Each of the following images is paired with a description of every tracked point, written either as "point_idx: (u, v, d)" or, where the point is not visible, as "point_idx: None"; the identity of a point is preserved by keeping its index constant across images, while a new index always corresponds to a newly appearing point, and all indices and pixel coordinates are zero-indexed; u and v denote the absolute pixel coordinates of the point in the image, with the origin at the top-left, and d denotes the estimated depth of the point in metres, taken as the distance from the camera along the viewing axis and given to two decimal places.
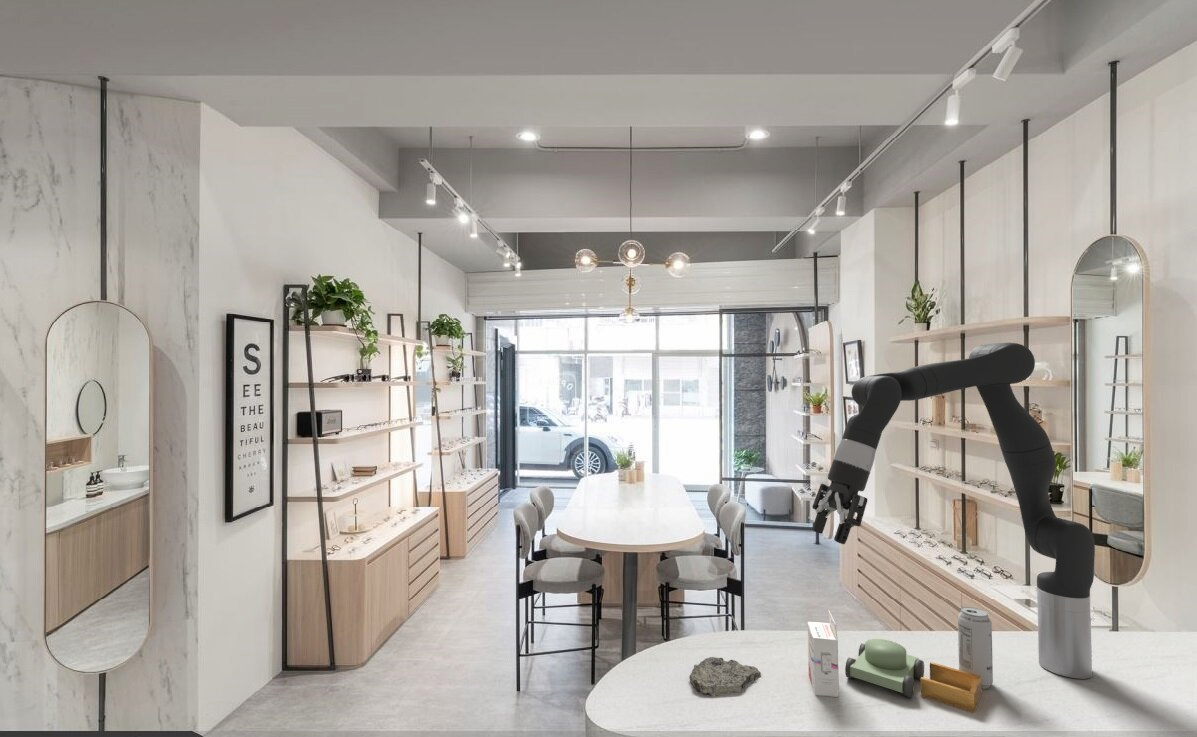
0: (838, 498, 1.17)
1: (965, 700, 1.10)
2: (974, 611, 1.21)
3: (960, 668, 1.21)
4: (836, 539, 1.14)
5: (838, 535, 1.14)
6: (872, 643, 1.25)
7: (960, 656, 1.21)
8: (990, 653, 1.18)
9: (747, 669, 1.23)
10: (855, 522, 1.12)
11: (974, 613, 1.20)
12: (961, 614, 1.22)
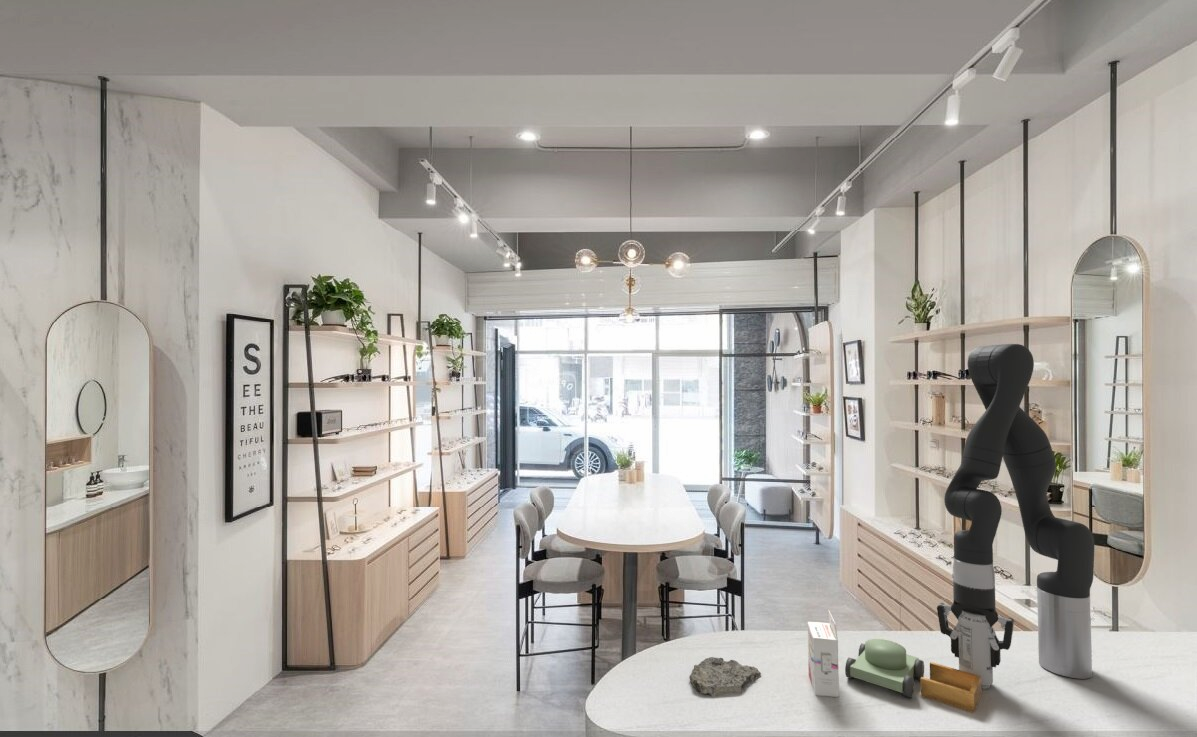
0: None
1: (965, 700, 1.10)
2: None
3: (960, 668, 1.21)
4: (995, 665, 1.18)
5: (995, 661, 1.18)
6: (872, 643, 1.25)
7: (960, 656, 1.21)
8: (990, 653, 1.18)
9: (747, 669, 1.23)
10: None
11: (974, 613, 1.20)
12: (961, 614, 1.21)
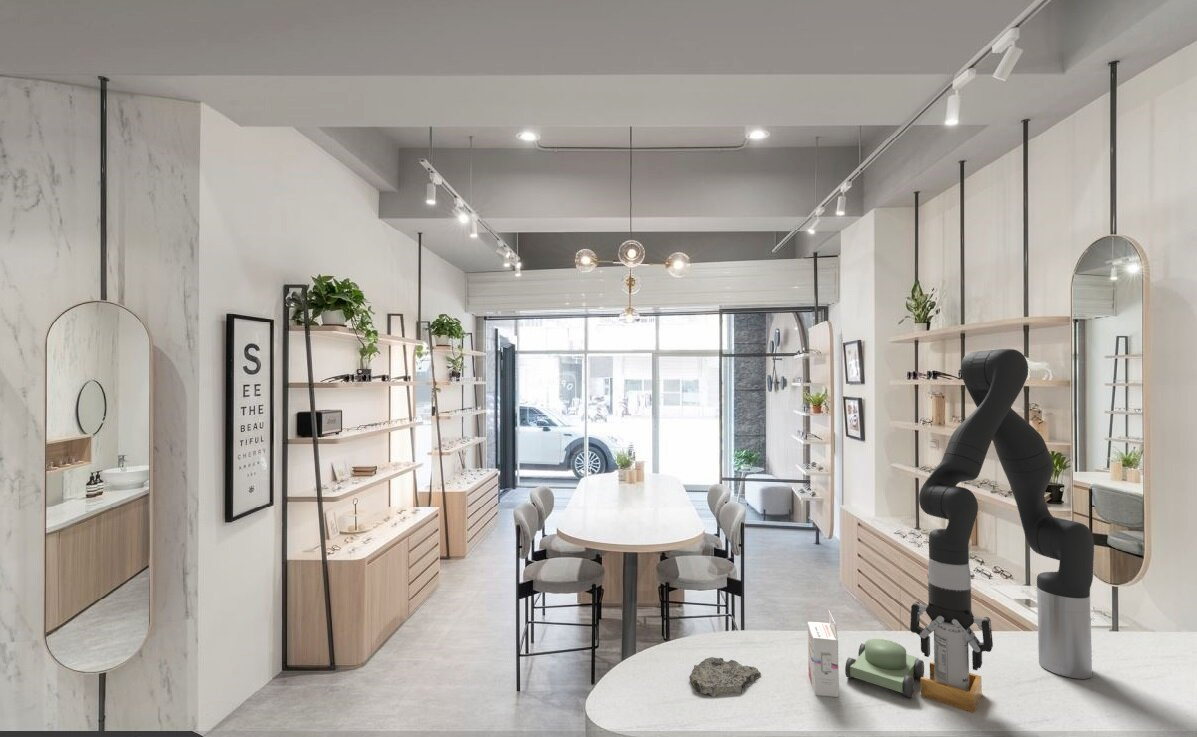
0: (960, 626, 1.14)
1: (965, 700, 1.10)
2: None
3: (936, 680, 1.16)
4: (976, 668, 1.12)
5: (976, 664, 1.12)
6: (872, 643, 1.25)
7: (936, 667, 1.16)
8: (966, 664, 1.13)
9: (747, 669, 1.23)
10: None
11: None
12: None
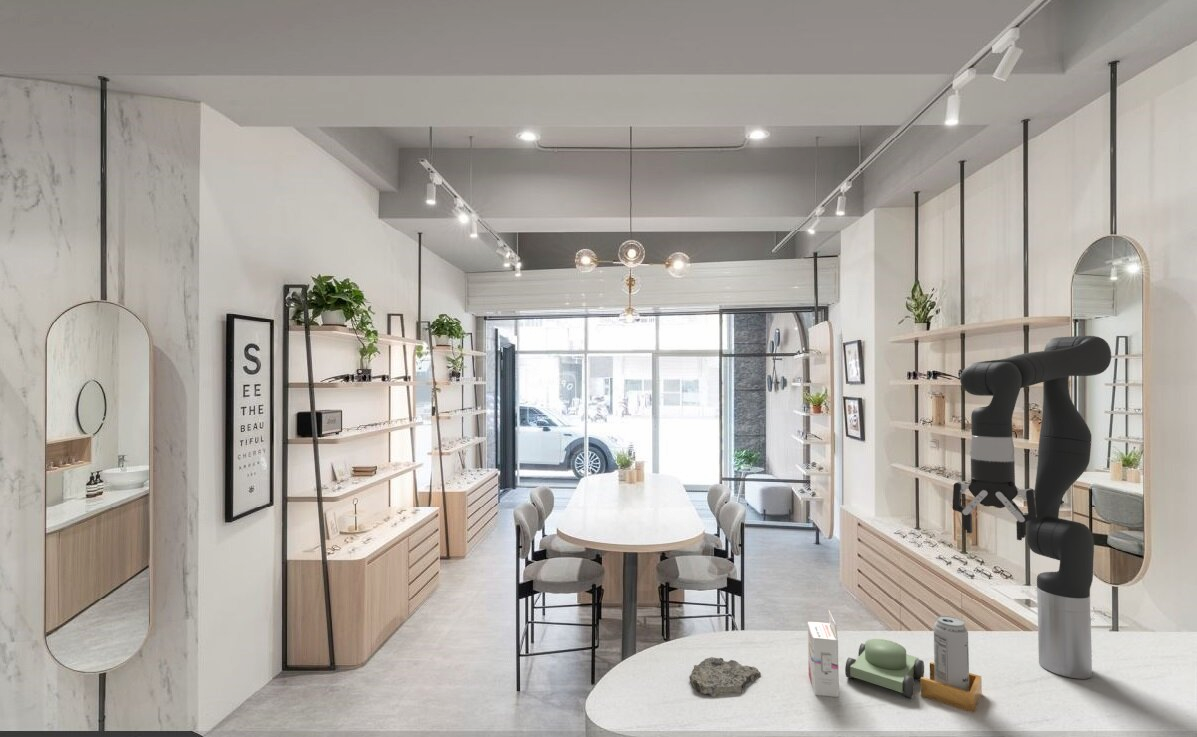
0: (1004, 498, 1.15)
1: (965, 700, 1.10)
2: (950, 620, 1.16)
3: (936, 680, 1.16)
4: (1020, 538, 1.14)
5: (1021, 534, 1.14)
6: (872, 643, 1.25)
7: (936, 667, 1.16)
8: (966, 664, 1.13)
9: (747, 669, 1.23)
10: (1036, 516, 1.13)
11: (950, 622, 1.16)
12: (937, 623, 1.17)
